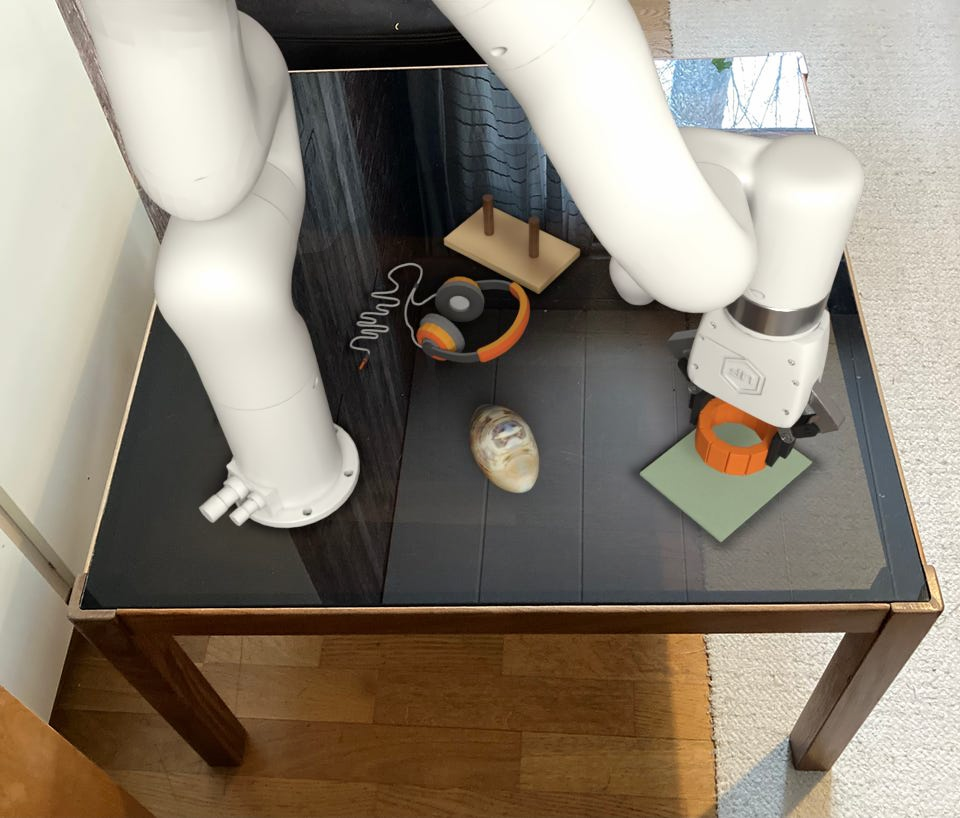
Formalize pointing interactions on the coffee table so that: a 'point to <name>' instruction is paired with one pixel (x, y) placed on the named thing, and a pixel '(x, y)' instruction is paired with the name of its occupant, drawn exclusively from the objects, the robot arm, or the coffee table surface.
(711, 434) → the ring
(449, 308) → the headphones
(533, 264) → the ring board
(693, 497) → the mat
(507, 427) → the seashell
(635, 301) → the plain white apple
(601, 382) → the coffee table surface
